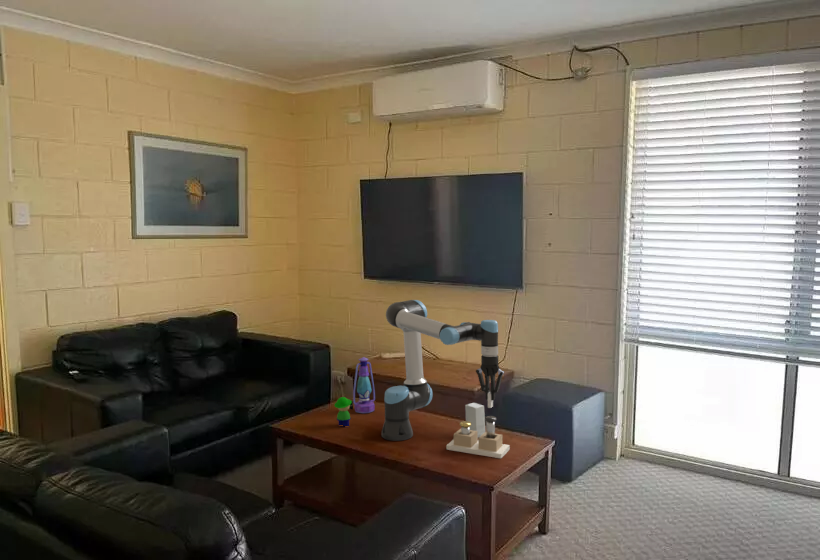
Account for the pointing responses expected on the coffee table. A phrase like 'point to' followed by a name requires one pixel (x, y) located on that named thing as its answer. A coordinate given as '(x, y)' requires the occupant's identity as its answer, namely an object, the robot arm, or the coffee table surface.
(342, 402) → the toy
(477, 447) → the socket board
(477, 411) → the skincare box
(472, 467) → the coffee table surface
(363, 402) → the lantern
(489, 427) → the plug black
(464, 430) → the plug brass
